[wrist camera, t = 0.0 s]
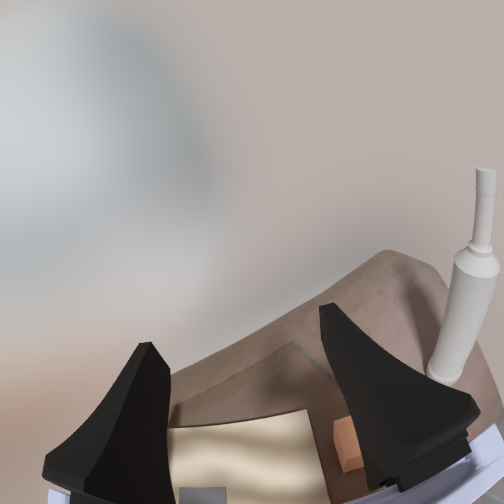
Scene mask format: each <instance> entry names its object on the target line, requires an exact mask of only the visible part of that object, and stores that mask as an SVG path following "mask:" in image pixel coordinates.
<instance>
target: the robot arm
mask: <svg viewBox="0 0 504 504" xmlns="http://www.w3.org/2000/svg"><path fill="white" fill-rule="evenodd" d="M319 314H320V329H321V340H322V343H323V347H324V350H325V353H326V356H327V359H328V361H329V364H330V366H331V368H332V371H333V373H334V375H335V377H336V380H337V382H338V384H339V386H340V389H341V391H342V393H343V396H344V398H345V400H346V403H347V405H348V408H349V411H350V415H351V418H352V421H353V425H354V428H355V432H356V436H357V439H358V443H359V447H360V451H361V455H362V460H363V464H364V469H365V474H366V479H367V484H368V488H369V491H370V492H371V491H373V490H376V489H378V488H381V487H383V486H386V487H387V488H385V489H383V490H380V491H378V492H375V493H372V494H370V495H367V496H364V497H361V498H358V499H355V500H352V501H349V502H346V503H343V504H471V503H472V502H474V501H475V500H476V499H477V498H479V497H480V496H481V495H482V494H483V493H484V492H486V491H487V490H488V489H489V488H490V487H492V486H493V485H494V484H495V483H496V482H497V481H498V480H500V479H501V478H502V477H503V476H504V441H503V439H502V437H501V434H500V432H499V430H498V428H497V426H496V424H495V423H493V424H492V425H490V426H489V427H488V428H487V429H485V430H484V431H483V432H481V433H480V434H479V435H477V436H476V437H475V438H473V439H472V440H471V441H469V442H468V441H467V439H466V437H468V432H467V430H466V428H467V427H468V426H469V425H471V424H472V423H473V422H474V421H475V420H476V419H477V418H478V417H479V415H480V413H481V411H480V410H479V408H478V406H477V404H476V402H475V401H474V399H473V398H472V397H471V395H470V394H468V393H465V392H462V391H459V390H456V389H453V388H451V387H448V386H446V385H444V384H441V383H439V382H437V381H435V380H433V379H431V378H429V377H427V376H425V375H423V374H421V373H419V372H418V371H416V370H414V369H412V368H411V367H409V366H407V365H406V364H404V363H403V362H401V361H400V360H398V359H397V358H395V357H394V356H393V355H391V354H390V353H388V352H387V351H386V350H384V349H383V348H382V347H381V346H379V345H378V344H377V343H376V342H375V341H373V340H372V339H371V338H370V337H369V336H368V335H366V334H365V333H364V332H363V331H362V330H361V329H360V328H359V327H358V326H357V325H356V324H355V323H354V322H353V321H351V320H350V319H349V318H348V317H347V315H346V314H345V313H344V312H343V311H342V310H341V309H340V308H339V307H338V306H337V305H336V304H335V303H330V304H326V305H322V306H319ZM170 393H171V374H170V368H169V366H168V365H167V364H166V362H165V361H164V360H163V358H162V357H161V355H160V354H159V352H158V351H157V350H156V348H155V347H154V345H153V344H152V342H145V343H139V345H138V346H137V347H136V349H135V351H134V352H133V354H132V355H131V357H130V359H129V360H128V362H127V363H126V365H125V367H124V368H123V370H122V372H121V373H120V375H119V376H118V378H117V379H116V381H115V383H114V384H113V386H112V387H111V388H110V390H109V391H108V393H107V395H106V396H105V398H104V399H103V400H102V402H101V403H100V404H99V406H98V407H97V408H96V409H95V411H94V412H93V413H92V414H91V415H90V417H89V418H88V419H87V420H86V421H85V422H84V423H83V424H82V425H81V426H80V427H79V428H78V429H77V430H76V431H75V432H74V433H73V434H72V435H71V436H70V437H69V438H68V439H67V440H65V441H64V442H63V443H62V444H61V445H59V446H58V447H57V448H55V449H54V450H52V451H51V452H49V453H48V454H47V455H46V456H45V461H44V466H43V472H42V477H43V478H44V479H45V480H47V481H49V482H51V483H53V484H56V485H58V486H60V487H62V488H64V489H66V490H69V491H71V496H70V495H68V494H65V493H63V492H60V491H58V490H55V489H53V488H49V495H48V504H176V500H175V496H174V492H173V488H172V482H171V476H170V470H169V461H168V449H167V426H168V415H169V404H170Z"/></svg>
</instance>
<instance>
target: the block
mask: <svg viewBox="0 0 504 504" xmlns="http://www.w3.org/2000/svg"><path fill="white" fill-rule="evenodd" d="M333 441H334V444H335V448H336V451H337V454H338V458H339V461H340V464H341V468H342V471H343V473H346V472H349V471H352V470H355V469H358V468H361V467H364V464H363V460H362V455H361V451H360V447H359V443H358V439H357V436H356V432H355V428H354V425H353V421H352V418H351V415H350V416H347V417H344V418H341V419H338V420H334V436H333Z"/></svg>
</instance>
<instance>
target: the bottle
mask: <svg viewBox="0 0 504 504" xmlns="http://www.w3.org/2000/svg"><path fill="white" fill-rule="evenodd" d="M496 191H497V171H496V170H494V169H491V168H486V167H477V168H476V207H475V219H474V228H473V237H472V240H471V241H469V243H468V246H467V247H466V248H464V249H462V250H461V251H459V252H458V253H457V254H456V255H455V258H454V264H453V271H452V278H451V284H450V289H449V294H448V299H447V304H446V309H445V313H444V317H443V321H442V325H441V329H440V333H439V337H438V340H437V344H436V347H435V350H434V353H433V356H432V357H431V358H430V359H429V363H428V366H427V371H426V373H427V377H429V378H431V379H433V380H435V381H437V382H439V383H441V384H444V385H446V386H448V387H450V386H451V385H453V384H454V383H455V382H456V381H457V380H458V378H459V377H460V375H461V374H462V372H463V366H464V364H465V362H466V360H467V358H468V356H469V354H470V351H471V349H472V347H473V345H474V343H475V340H476V338H477V336H478V333H479V331H480V329H481V326H482V323H483V321H484V319H485V316H486V313H487V310H488V308H489V305H490V302H491V299H492V296H493V293H494V290H495V286H496V282H497V279H498V276H499V272H500V264H499V262H498V260H497V259H496V257H495V255H494V254H493V252H492V251H493V248H492V246H491V245H490V243H491V237H492V228H493V221H494V211H495V199H496Z"/></svg>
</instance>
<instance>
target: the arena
mask: <svg viewBox="0 0 504 504" xmlns="http://www.w3.org/2000/svg"><path fill="white" fill-rule="evenodd" d="M167 449H168V461H169V470H170V476H171V482H172V488H173V492H174V496H175V500H176V504H330V499H329V495H328V491H327V487H326V483H325V479H324V475H323V471H322V467H321V463H320V459H319V456H318V452H317V448H316V444H315V440H314V436H313V432H312V428H311V424H310V421H309V417H308V413H307V409H305V410H301V411H297V412H293V413H288V414H284V415H279V416H274V417H269V418H264V419H258V420H252V421H246V422H239V423H232V424H224V425H215V426H205V427H192V428H172V429H169V428H168V427H167Z"/></svg>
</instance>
